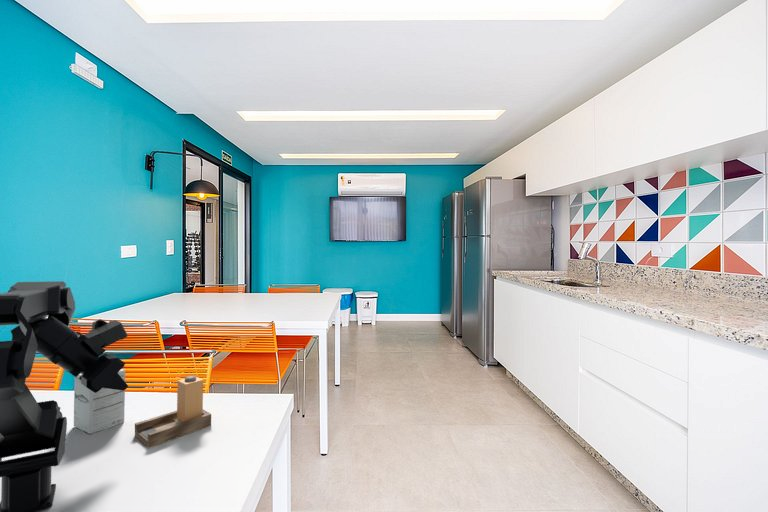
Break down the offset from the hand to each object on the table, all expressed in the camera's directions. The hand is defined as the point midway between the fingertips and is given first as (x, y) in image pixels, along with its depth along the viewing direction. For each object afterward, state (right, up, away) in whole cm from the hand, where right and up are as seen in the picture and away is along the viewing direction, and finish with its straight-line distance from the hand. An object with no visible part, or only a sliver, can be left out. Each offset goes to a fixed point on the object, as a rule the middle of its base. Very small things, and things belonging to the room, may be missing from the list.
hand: (125, 388), depth 75 cm
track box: (+5, -13, +8) cm, 16 cm away
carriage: (+8, -11, +11) cm, 17 cm away
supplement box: (-13, -12, +10) cm, 21 cm away
